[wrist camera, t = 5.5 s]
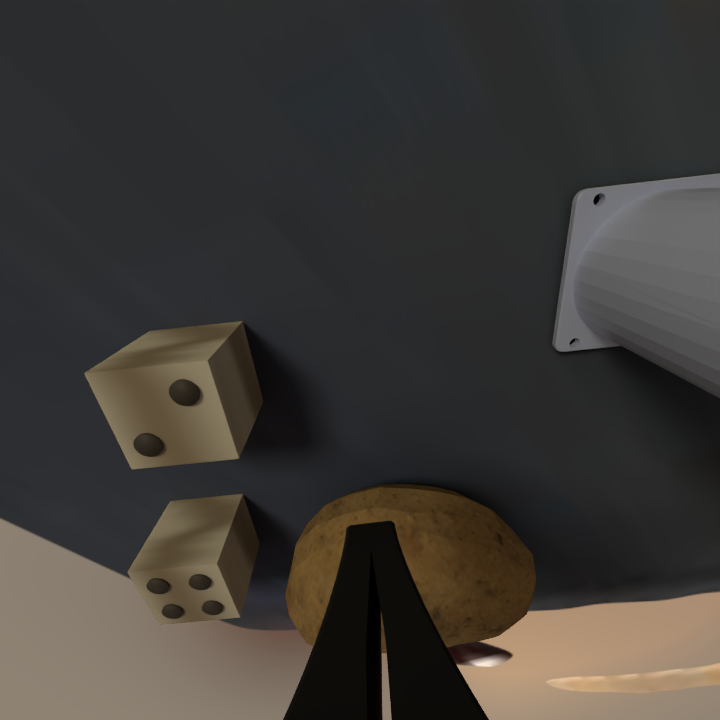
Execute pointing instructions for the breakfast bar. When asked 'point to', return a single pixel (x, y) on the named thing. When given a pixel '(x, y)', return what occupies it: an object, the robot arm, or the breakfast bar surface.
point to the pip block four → (198, 560)
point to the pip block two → (180, 395)
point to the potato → (421, 560)
